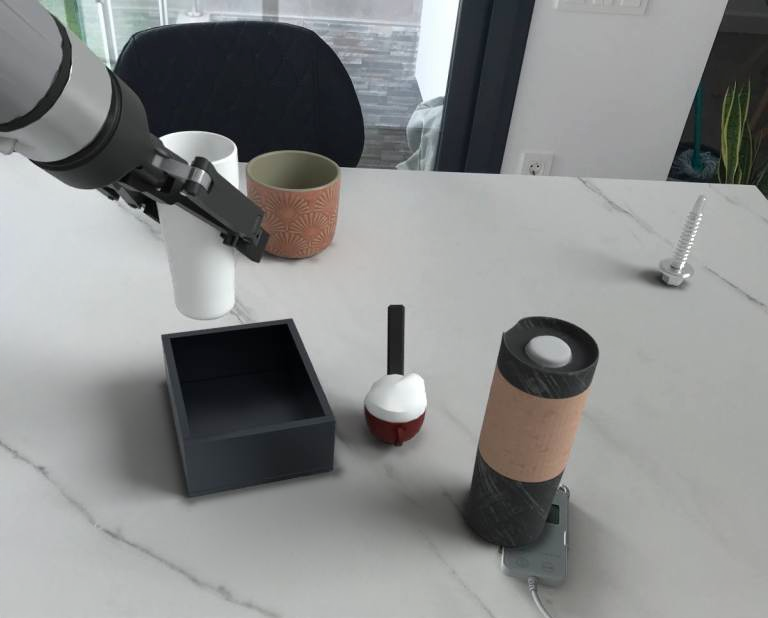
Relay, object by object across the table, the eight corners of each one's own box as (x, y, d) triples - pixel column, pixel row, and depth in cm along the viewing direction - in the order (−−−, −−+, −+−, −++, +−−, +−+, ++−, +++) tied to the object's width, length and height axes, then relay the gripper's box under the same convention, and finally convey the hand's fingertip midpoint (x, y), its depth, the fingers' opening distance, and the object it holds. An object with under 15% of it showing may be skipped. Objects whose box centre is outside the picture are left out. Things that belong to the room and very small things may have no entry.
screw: (667, 292, 105) (647, 273, 109) (696, 288, 107) (676, 270, 110) (699, 204, 97) (676, 187, 101) (730, 201, 99) (707, 185, 102)
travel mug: (555, 549, 69) (614, 375, 57) (471, 550, 68) (512, 373, 56) (535, 486, 75) (585, 315, 62) (457, 486, 74) (492, 313, 62)
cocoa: (410, 466, 76) (424, 370, 68) (350, 450, 77) (356, 353, 69) (434, 407, 83) (448, 314, 75) (378, 393, 84) (387, 300, 76)
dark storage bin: (167, 384, 82) (160, 334, 78) (292, 366, 86) (292, 317, 82) (189, 497, 70) (183, 445, 66) (333, 470, 75) (336, 419, 70)
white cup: (176, 334, 67) (159, 168, 57) (159, 292, 71) (141, 133, 62) (253, 320, 69) (248, 160, 60) (232, 281, 74) (225, 127, 64)
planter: (346, 229, 112) (350, 157, 105) (326, 273, 102) (329, 196, 95) (263, 216, 113) (261, 144, 106) (235, 258, 103) (232, 181, 96)
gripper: (-83, 128, 49) (119, 246, 72) (175, 206, 44) (307, 307, 66) (-38, 22, 50) (149, 171, 72) (222, 86, 45) (338, 226, 67)
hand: (224, 236), depth 69 cm, fingers closed on white cup, 7 cm apart
